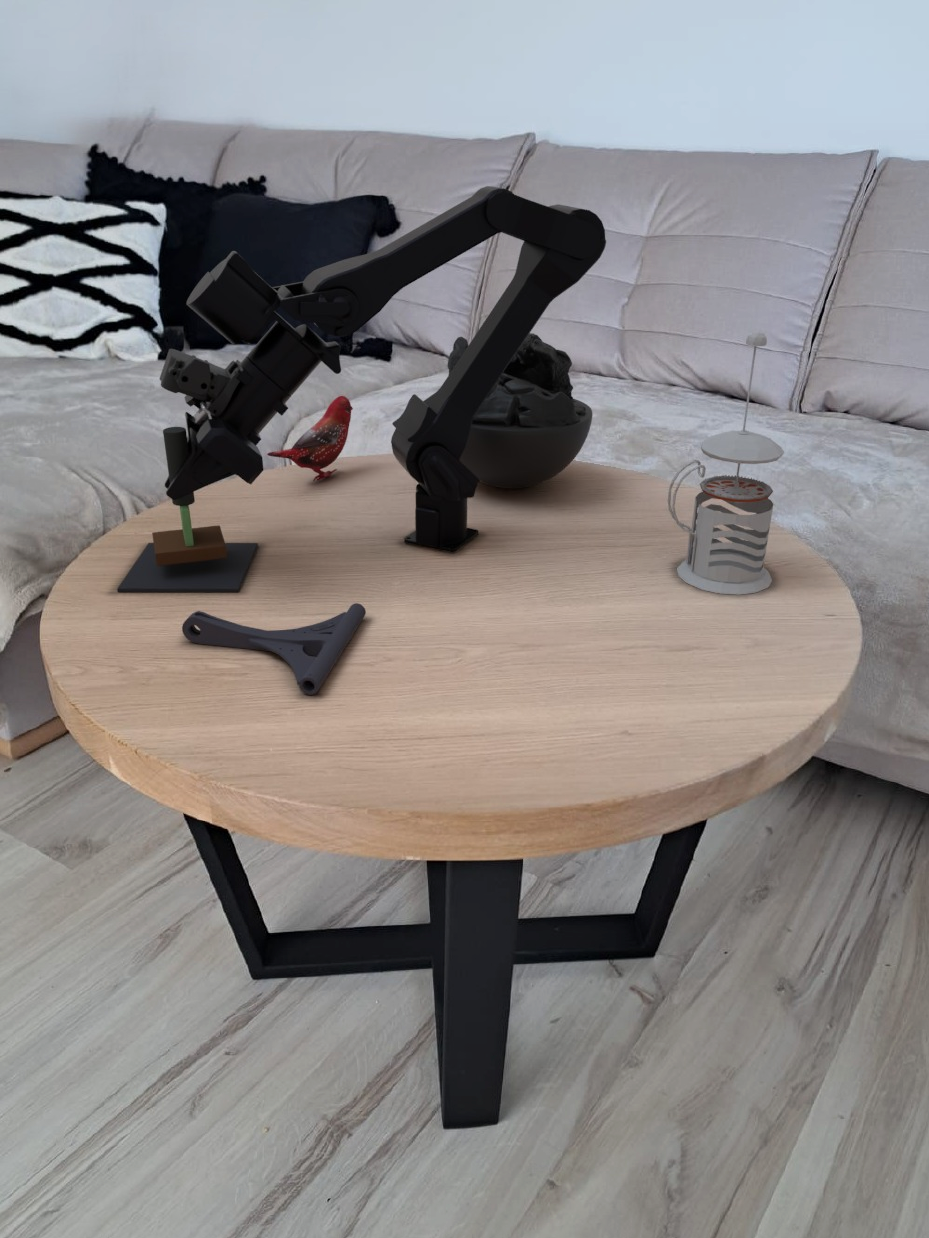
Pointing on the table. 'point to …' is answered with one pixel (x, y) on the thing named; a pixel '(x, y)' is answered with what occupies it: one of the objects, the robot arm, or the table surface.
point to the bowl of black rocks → (526, 419)
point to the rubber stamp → (185, 516)
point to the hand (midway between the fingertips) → (168, 492)
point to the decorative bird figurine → (322, 440)
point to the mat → (190, 572)
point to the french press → (730, 512)
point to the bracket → (284, 642)
